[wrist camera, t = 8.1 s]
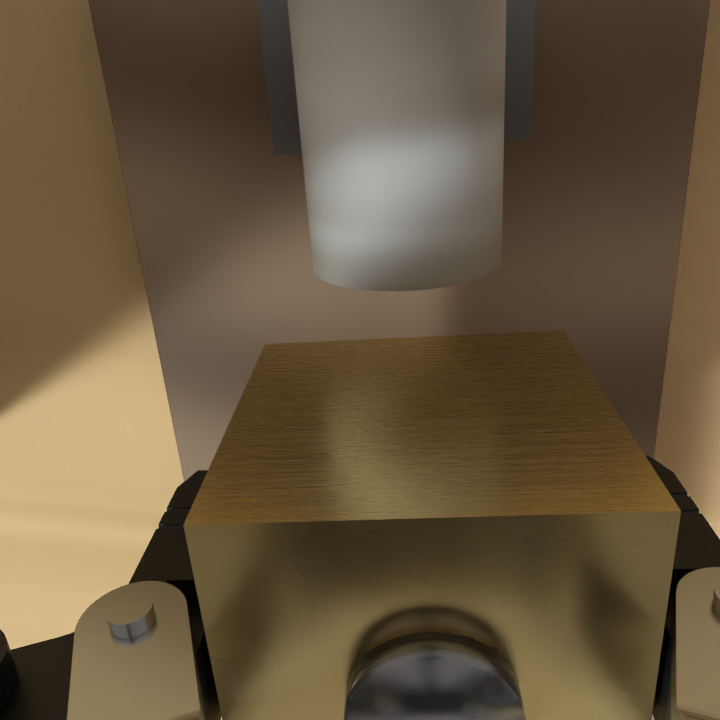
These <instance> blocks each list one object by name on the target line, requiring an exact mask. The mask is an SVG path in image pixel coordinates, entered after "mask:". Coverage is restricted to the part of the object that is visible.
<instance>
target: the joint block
mask: <svg viewBox="0 0 720 720" xmlns="http://www.w3.org/2000/svg"><path fill="white" fill-rule="evenodd" d="M680 515H681V510H680V508H679V507H678V505H677V504H676V502H675V501H674V499H673V498H672V496H671V495H670V493H669V492H668V490H667V488H666V487H665V485H664V484H663V482H662V481H661V479H660V478H659V476H658V475H657V473H656V472H655V470H654V469H653V467H652V465H651V464H650V462H649V461H648V459H647V458H646V456H645V455H644V453H643V452H642V450H641V449H640V447H639V446H638V444H637V442H636V441H635V439H634V438H633V436H632V435H631V433H630V432H629V430H628V429H627V427H626V426H625V424H624V422H623V421H622V419H621V418H620V416H619V415H618V413H617V412H616V410H615V409H614V407H613V406H612V404H611V403H610V401H609V399H608V398H607V396H606V395H605V393H604V392H603V390H602V389H601V387H600V386H599V384H598V383H597V381H596V380H595V378H594V376H593V375H592V373H591V372H590V370H589V369H588V367H587V366H586V364H585V363H584V361H583V360H582V358H581V357H580V355H579V353H578V352H577V350H576V349H575V347H574V346H573V344H572V343H571V341H570V340H569V338H568V337H567V335H566V333H565V332H564V330H561V331H539V332H517V333H495V334H473V335H451V336H429V337H407V338H385V339H363V340H341V341H319V342H297V343H275V344H265V345H264V347H263V349H262V351H261V354H260V356H259V358H258V360H257V362H256V365H255V367H254V369H253V371H252V374H251V376H250V378H249V380H248V382H247V385H246V387H245V389H244V391H243V394H242V396H241V398H240V400H239V402H238V405H237V407H236V409H235V411H234V414H233V416H232V418H231V420H230V423H229V425H228V427H227V429H226V431H225V434H224V436H223V438H222V440H221V443H220V445H219V447H218V449H217V451H216V454H215V456H214V458H213V460H212V463H211V465H210V467H209V469H208V471H207V474H206V476H205V478H204V480H203V483H202V485H201V487H200V489H199V492H198V494H197V496H196V498H195V500H194V503H193V505H192V507H191V509H190V512H189V514H188V516H187V518H186V520H185V523H184V525H183V526H184V531H185V536H186V541H187V546H188V551H189V556H190V561H191V566H192V571H193V576H194V581H195V585H196V590H197V595H198V600H199V605H200V610H201V615H202V620H203V625H204V630H205V635H206V640H207V645H208V650H209V655H210V660H211V665H212V670H213V675H214V680H215V685H216V690H217V695H218V700H219V705H220V710H221V715H222V720H651V717H652V710H653V703H654V696H655V689H656V682H657V676H658V669H659V662H660V655H661V648H662V641H663V634H664V627H665V620H666V613H667V606H668V599H669V592H670V585H671V578H672V571H673V564H674V557H675V550H676V543H677V536H678V529H679V522H680Z"/></svg>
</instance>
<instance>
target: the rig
mask: <svg viewBox="0 0 720 720" xmlns="http://www.w3.org/2000/svg"><path fill="white" fill-rule="evenodd" d="M88 1H89V6H90V11H91V16H92V21H93V26H94V31H95V36H96V41H97V46H98V51H99V56H100V61H101V66H102V71H103V76H104V81H105V86H106V91H107V96H108V101H109V106H110V111H111V116H112V121H113V126H114V131H115V136H116V141H117V146H118V151H119V156H120V161H121V166H122V171H123V176H124V181H125V186H126V191H127V196H128V201H129V206H130V211H131V216H132V221H133V227H134V232H135V237H136V242H137V247H138V252H139V257H140V262H141V267H142V272H143V277H144V282H145V287H146V292H147V297H148V302H149V307H150V312H151V317H152V322H153V327H154V332H155V337H156V342H157V347H158V352H159V357H160V362H161V367H162V372H163V377H164V382H165V387H166V392H167V397H168V402H169V407H170V412H171V417H172V422H173V427H174V432H175V437H176V442H177V447H178V452H179V458H180V463H181V468H182V473H183V478H184V482H185V481H186V480H187V479H188V478H189V477H190V476H192V475H193V474H194V473H195V472H196V471H197V470H208V469H209V467H210V465H211V463H212V460H213V458H214V456H215V454H216V451H217V449H218V447H219V445H220V443H221V440H222V438H223V436H224V434H225V431H226V429H227V427H228V425H229V423H230V420H231V418H232V416H233V414H234V411H235V409H236V407H237V405H238V402H239V400H240V398H241V396H242V394H243V391H244V389H245V387H246V385H247V382H248V380H249V378H250V376H251V374H252V371H253V369H254V367H255V365H256V362H257V360H258V358H259V356H260V354H261V351H262V349H263V347H264V345H265V344H275V343H297V342H319V341H341V340H363V339H385V338H407V337H429V336H451V335H473V334H495V333H517V332H539V331H561V330H564V332H565V333H566V335H567V337H568V338H569V340H570V341H571V343H572V344H573V346H574V347H575V349H576V350H577V352H578V353H579V355H580V357H581V358H582V360H583V361H584V363H585V364H586V366H587V367H588V369H589V370H590V372H591V373H592V375H593V376H594V378H595V380H596V381H597V383H598V384H599V386H600V387H601V389H602V390H603V392H604V393H605V395H606V396H607V398H608V399H609V401H610V403H611V404H612V406H613V407H614V409H615V410H616V412H617V413H618V415H619V416H620V418H621V419H622V421H623V422H624V424H625V426H626V427H627V429H628V430H629V432H630V433H631V435H632V436H633V438H634V439H635V441H636V442H637V444H638V446H639V447H640V449H641V450H642V452H643V453H644V455H645V456H650V457H651V458H654V450H655V442H656V433H657V425H658V417H659V409H660V401H661V393H662V385H663V377H664V369H665V361H666V353H667V344H668V336H669V328H670V320H671V312H672V304H673V296H674V288H675V280H676V272H677V264H678V255H679V247H680V239H681V231H682V223H683V215H684V207H685V199H686V191H687V183H688V175H689V166H690V158H691V150H692V142H693V134H694V126H695V118H696V110H697V102H698V94H699V86H700V77H701V69H702V61H703V53H704V45H705V37H706V29H707V21H708V13H709V5H710V0H88Z"/></svg>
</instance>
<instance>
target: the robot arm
mask: <svg viewBox="0 0 720 720" xmlns="http://www.w3.org/2000/svg"><path fill="white" fill-rule="evenodd" d="M646 458H647V459H648V461H649V462H650V464H651V465H652V467H653V469H654V470H655V472H656V473H657V475H658V476H659V478H660V479H661V481H662V482H663V484H664V485H665V487H666V488H667V490H668V492H669V493H670V495H671V496H672V498H673V499H674V501H675V502H676V504H677V505H678V507H679V508H680V510H681V515H680V522H679V529H678V536H677V543H676V550H675V557H674V564H673V571H672V578H671V585H670V592H669V599H668V606H667V613H666V620H665V627H664V634H663V641H662V648H661V655H660V662H659V669H658V676H657V682H656V689H655V696H654V703H653V710H652V714H653V716H654V719H655V720H720V539H719V538H718V536H717V535H716V534H715V532H714V531H713V529H712V528H711V526H710V525H709V523H708V522H707V521H706V519H705V518H704V516H703V515H702V514H699V509H698V508H697V506H696V505H695V503H694V502H693V500H692V499H691V497H688V496H687V492H686V490H685V489H684V487H683V486H682V484H681V483H680V482H679V480H678V479H677V477H676V476H675V474H674V473H673V472H672V471H670V470H669V469H667V468H666V467H664V466H663V465H661V464H660V463H658V462H657V461H656V460H654V459H653V458H651V457H650V456H646ZM207 471H208V470H197V471H196V472H195V473H194V474H193V475H192V476H190V477H189V478H188V479H187V480H186V481H185V482H183V483H182V484H181V485H180V486H179V487H178V488H177V489H176V491H175V493H174V495H173V497H172V499H171V501H170V503H169V505H168V507H167V512H165V513H164V515H163V517H162V519H161V521H160V523H159V529H156V531H155V533H154V535H153V537H152V539H151V541H150V543H149V545H148V547H147V549H146V551H145V553H144V555H143V557H142V558H141V560H140V562H139V564H138V566H137V568H136V570H135V572H134V574H133V576H132V578H131V580H130V582H129V584H128V585H124V586H121V587H119V588H117V589H114V590H112V591H110V592H108V593H107V594H105V595H103V596H102V597H100V598H99V599H97V600H96V601H95V602H94V603H93V604H91V605H90V606H89V607H88V608H87V609H86V611H85V612H84V613H83V614H82V616H81V617H80V619H79V621H78V623H77V625H76V628H75V632H73V633H71V634H68V635H64V636H61V637H58V638H54V639H50V640H47V641H43V642H39V643H35V644H31V645H28V646H24V647H20V648H16V649H12V650H10V648H9V645H8V642H7V639H6V637H5V635H4V633H3V632H2V631H1V630H0V720H221V716H222V715H221V710H220V705H219V700H218V695H217V690H216V685H215V680H214V675H213V670H212V665H211V660H210V655H209V650H208V645H207V640H206V635H205V630H204V625H203V620H202V615H201V610H200V605H199V600H198V595H197V590H196V585H195V581H194V576H193V571H192V566H191V561H190V556H189V551H188V546H187V541H186V536H185V531H184V526H183V525H184V523H185V520H186V518H187V516H188V514H189V512H190V509H191V507H192V505H193V503H194V500H195V498H196V496H197V494H198V492H199V489H200V487H201V485H202V483H203V480H204V478H205V476H206V474H207Z"/></svg>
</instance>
